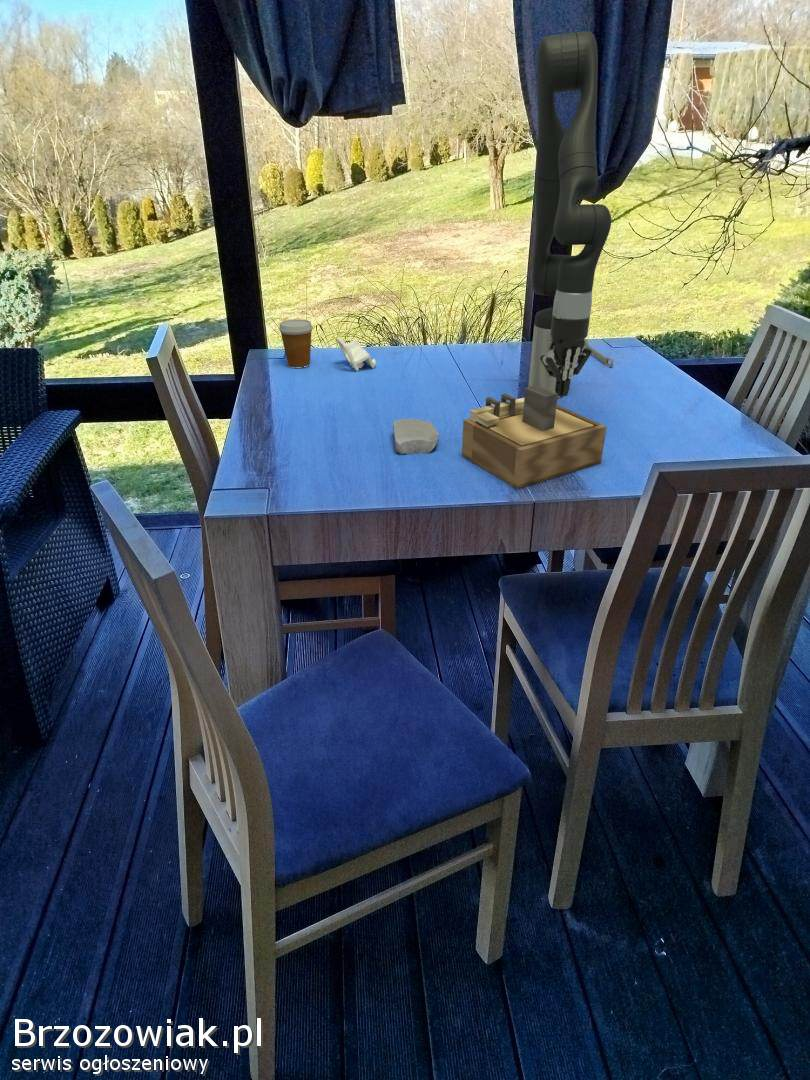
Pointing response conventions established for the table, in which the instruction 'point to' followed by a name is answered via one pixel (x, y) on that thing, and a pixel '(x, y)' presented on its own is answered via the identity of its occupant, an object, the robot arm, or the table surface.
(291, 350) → the disposable coffee cup
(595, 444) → the wooden box
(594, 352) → the combination wrench
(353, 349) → the mounting bracket
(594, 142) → the robot arm
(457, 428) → the table surface
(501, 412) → the yellow latch bar
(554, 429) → the lid
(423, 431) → the stone block
